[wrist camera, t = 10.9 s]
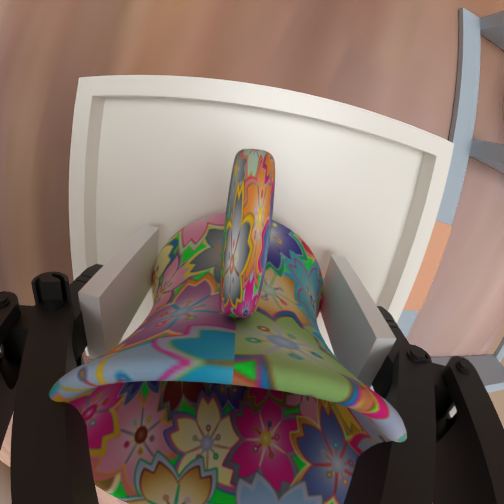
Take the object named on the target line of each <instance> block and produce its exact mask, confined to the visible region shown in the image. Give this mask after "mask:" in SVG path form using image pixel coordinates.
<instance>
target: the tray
mask: <svg viewBox="0 0 504 504" xmlns="http://www.w3.org/2000/svg"><path fill="white" fill-rule="evenodd" d="M453 148H454V143H452V142H450V141H448V140H445V139H443V138H441V137H438V136H436V135H434V134H431V133H429V132H426V131H424V130H422V129H419V128H416V127H414V126H411V125H409V124H406V123H403V122H401V121H398V120H395V119H392V118H389V117H386V116H383V115H380V114H377V113H374V112H371V111H368V110H365V109H362V108H358V107H355V106H351V105H348V104H344V103H341V102H337V101H333V100H329V99H326V98H322V97H317V96H313V95H309V94H304V93H300V92H295V91H290V90H285V89H280V88H275V87H269V86H263V85H257V84H251V83H244V82H237V81H229V80H220V79H210V78H199V77H186V76H166V75H111V76H92V77H79V82H78V88H77V95H76V101H75V109H74V117H73V126H72V136H71V149H70V167H69V227H70V246H71V259H72V269H73V279H74V281H75V279H76V278H77V277H78V276H80V274H81V273H82V272H83V271H84V270H85V269H86V268H88V267H90V266H93V265H95V264H100V265H104V264H105V263H106V262H107V261H108V260H109V259H110V258H111V257H112V256H113V255H114V254H115V253H116V252H117V251H118V250H119V249H120V248H121V247H122V246H123V245H125V244H126V243H127V242H128V241H129V240H130V239H131V238H132V237H133V236H134V235H135V234H136V233H137V232H138V231H139V230H140V229H141V228H142V227H143V226H144V225H146V226H153V227H159V239H158V255H159V253H160V252H161V250H162V248H163V247H164V245H165V244H166V243H167V242H168V241H169V239H170V238H171V237H172V236H173V235H175V234H176V233H177V232H178V231H179V230H181V229H182V228H183V227H185V226H187V225H188V224H190V223H192V222H194V221H196V220H198V219H201V218H204V217H207V216H211V215H215V214H220V213H226V208H227V200H228V193H229V186H230V180H231V174H232V168H233V163H234V159H235V156H236V154H237V153H238V151H240V150H242V149H259V150H263V151H267V152H269V153H270V154H271V155H272V156H273V158H274V161H275V191H274V204H273V215H272V220H274V221H276V222H278V223H280V224H282V225H284V226H285V227H287V228H289V229H290V230H292V231H293V232H294V233H295V234H297V235H298V236H299V237H300V238H301V239H302V240H303V241H304V242H305V243H306V244H307V246H308V247H309V248H310V250H311V251H312V253H313V254H314V256H315V258H316V260H317V262H318V264H319V267H320V270H321V274H322V278H323V281H324V278H325V274H326V271H327V267H328V264H329V260H330V257H331V255H336V256H342V257H345V258H346V259H347V261H348V262H349V264H350V265H351V267H352V268H353V270H354V271H355V273H356V274H357V276H358V277H359V279H360V280H361V282H362V284H363V285H364V287H365V288H366V290H367V291H368V293H369V295H370V296H371V298H372V299H373V301H374V303H375V304H376V306H382V307H383V308H384V309H386V310H387V311H388V312H389V313H390V314H391V315H392V317H393V319H394V320H395V322H396V323H397V322H398V320H399V318H400V315H401V313H402V311H403V308H404V306H405V304H406V301H407V299H408V297H409V294H410V292H411V289H412V287H413V284H414V282H415V279H416V277H417V274H418V271H419V269H420V266H421V263H422V260H423V258H424V255H425V252H426V249H427V246H428V243H429V240H430V237H431V234H432V231H433V228H434V224H435V221H436V218H437V214H438V211H439V207H440V204H441V200H442V196H443V192H444V188H445V184H446V180H447V176H448V172H449V167H450V163H451V158H452V153H453ZM152 307H153V299H152V292H151V288H150V290H149V292H148V293H147V295H146V297H145V298H144V300H143V302H142V304H141V305H140V307H139V309H138V310H137V312H136V314H135V316H134V317H133V319H132V321H131V323H130V324H129V326H128V328H127V330H126V332H125V333H124V335H123V337H122V339H121V341H120V343H121V342H123V341H124V340H125V339H126V338H128V337H129V336H130V335H131V334H132V333H133V332H134V331H135V330H136V329H137V328H138V327H139V326H140V325H141V324H142V323H143V321H144V320H145V319H146V317H147V316H148V314H149V313H150V311H151V309H152ZM317 324H318V328H319V331H320V333H321V335H322V337H323V339H324V341H325V343H326V344H327V346H328V348H329V349H330V350H331V352H332V353H333V355H334V352H333V349H332V346H331V343H330V340H329V337H328V333H327V330H326V327H325V324H324V321H323V318H322V315H321V312H320V313H319V315H318V318H317ZM120 343H119V344H120ZM119 344H118V345H119ZM85 352H86V355H87V356H89V353H88V349H87V347H86V348H85ZM334 356H335V355H334Z"/></svg>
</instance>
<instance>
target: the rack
mask: <svg viewBox="0 0 504 504" xmlns="http://www.w3.org/2000/svg"><path fill="white" fill-rule="evenodd" d="M480 34H481V35H482V36H484V37H485V38H487V39H488V40H490V41H491V42H492V43H494V44H495V45H496V46H498V47H499V48H500V49H502V50H503V51H504V11H501V12H498V13H495V14H492V15H488V16H485V17H482V18H478V17H477V16H475V15H474V14H472V13H471V12H469V11H468V10H466V9H465V8H463V7H462V8H460V9H459V52H458V70H457V82H456V92H455V100H454V108H453V115H452V122H451V128H450V134H449V140H448V141H450V142H452V143H454V148H453V153H452V158H451V163H450V167H449V172H448V176H447V180H446V184H445V188H444V192H443V196H442V200H441V204H440V207H439V211H438V214H437V218H436V221H435V224H434V228H433V231H432V234H431V237H430V240H429V243H428V246H427V249H426V252H425V255H424V258H423V260H422V263H421V266H420V269H419V271H418V274H417V277H416V279H415V282H414V284H413V287H412V289H411V292H410V294H409V297H408V299H407V301H406V304H405V306H404V308H403V311H402V313H401V315H400V318H399V320H398V322H397V325H398V326H399V327H398V328H400V330H401V331H402V333H403V334H404V336H405V338H406V337H407V335H408V333H409V331H410V329H411V327H412V325H413V323H414V321H415V319H416V317H417V314H418V312H419V311H420V310H421V308H422V306H423V303H424V301H425V299H426V296H427V294H428V292H429V289H430V287H431V284H432V282H433V279H434V277H435V274H436V272H437V269H438V267H439V264H440V261H441V258H442V256H443V253H444V250H445V247H446V244H447V241H448V238H449V235H450V232H451V229H452V222H453V219H454V216H455V212H456V209H457V205H458V202H459V198H460V194H461V190H462V186H463V182H464V178H465V173H466V169H467V164H468V159H469V156H470V157H472V158H474V159H476V160H478V161H480V162H482V163H484V164H486V165H488V166H490V167H492V168H494V169H495V170H497V171H499V172H501V173H503V174H504V145H502V144H497V143H491V142H485V141H479V140H472V137H473V131H474V125H475V117H476V109H477V100H478V89H479V75H480ZM459 357H463V358H465V359H467V360H469V362H471V363H472V364H473V366H474V367H475V368H476V370H477V372H478V374H479V376H480V378H481V380H482V382H483V384H484V386H485V388H486V390H487V392H488V393H490V392H494V391H498V390H503V389H504V367H503V366H502V364H501V363H500V362H501V360H502V359H503V357H504V338H503V339H502V341H501V343H500V345H499V346H498V348H497V350H496V351H495V353H494V354H492V355H477V356H459ZM450 358H451V357H431V360H432V363H436V364H440V365H444V366H446V364H447V363H448V361H449V359H450ZM370 389H371V390H373V391H374V389H373V386H371V387H370ZM374 392H375V391H374Z"/></svg>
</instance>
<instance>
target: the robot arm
mask: <svg viewBox="0 0 504 504" xmlns="http://www.w3.org/2000/svg"><path fill="white" fill-rule="evenodd" d="M158 239H159V227H153V226H146V225H144V226H143V227H142V228H141V229H140V230H139V231H138V232H137V233H136V234H135V235H134V236H133V237H132V238H131V239H130V240H129V241H128V242H127V243H126V244H125V245H123V246H122V247H121V248H120V249H119V250H118V251H117V252H116V253H115V254H114V255H113V256H112V257H111V258H110V259H109V260H108V261H107V262H106V263H105V264H104V265H100V264H95V265H93V266H90V267H88V268H86V269H85V270H84V271H83V272H82V273H81V274H80V276H78V277H77V278H76V279H75V281H73V282H72V283H71V284H70V285H69V280H68V277H67V276H66V275H65V274H63V273H60V272H46V273H43V274H40V275H38V276H36V277H35V278H34V279H33V280H32V282H31V283H32V289H33V294H34V299H35V303H36V305H35V306H23V305H19V302H18V298H17V296H16V295H15V294H14V293H12V292H5V291H3V292H0V349H1V353H0V450H1V446H2V443H3V440H4V437H5V434H6V431H7V428H8V425H9V422H10V420H11V417H12V414H13V411H14V414H13V424H12V438H11V496H12V504H99V503H98V498H97V493H96V488H95V483H94V478H93V472H92V465H91V459H90V451H89V443H88V434H87V425H86V423H85V421H84V419H83V417H82V415H81V414H80V412H79V411H78V410H77V409H76V408H75V407H74V406H73V405H71V404H69V403H66V402H56V401H54V400H52V399H51V398H50V396H49V392H50V390H51V388H52V387H53V385H54V384H55V383H56V382H57V381H58V380H59V379H60V378H61V377H62V376H64V375H65V374H67V373H68V372H70V371H71V370H73V369H74V368H76V367H79V366H81V365H83V364H84V362H83V357H82V353H83V352H84V350H85V348H86V347H87V349H88V353H89V358H91V359H95V358H97V357H99V356H101V355H103V354H104V353H106V352H108V351H110V350H111V349H113V348H114V347H116V346H117V345H118V344H119V343H120V341H121V339H122V337H123V335H124V333H125V332H126V330H127V328H128V326H129V324H130V323H131V321H132V319H133V317H134V316H135V314H136V312H137V310H138V309H139V307H140V305H141V304H142V302H143V300H144V298H145V297H146V295H147V293H148V292H149V290H150V288H151V287H152V274H153V269H154V265H155V262H156V260H157V257H158ZM320 312H321V315H322V318H323V321H324V324H325V327H326V330H327V333H328V337H329V340H330V343H331V346H332V349H333V352H334V355H335V357H336V358H337V359H338V360H339V361H340V363H341V364H342V365H343V366H344V367H345V368H346V369H347V370H348V371H349V372H350V373H351V374H353V375H354V376H355V377H356V378H357V379H358V380H360V381H361V382H362V383H363V384H365V385H366V386H367V387H369V388H370V387H371V386H373V389H374V391H375V392H376V393H377V394H378V395H380V396H381V397H383V398H384V399H385V400H386V401H387V402H388V403H389V404H390V405H391V406H392V407H393V408H394V409H395V410H396V411H397V412H398V414H399V415H400V417H401V418H402V420H403V423H404V426H405V429H406V432H407V439H406V440H405V441H403V442H395V441H389V442H381V443H378V444H375V445H373V446H371V447H370V448H368V449H367V450H366V451H364V452H363V453H362V454H361V455H360V456H359V457H358V458H357V460H356V464H355V468H354V471H353V475H352V478H351V481H350V485H349V488H348V491H347V494H346V497H345V500H344V503H343V504H432V502H433V504H504V429H503V426H502V424H501V421H500V419H499V417H498V414H497V412H496V410H495V408H494V406H493V403H492V401H491V399H490V397H489V395H488V392H487V390H486V388H485V386H484V384H483V382H482V380H481V378H480V376H479V374H478V372H477V370H476V368H475V367H474V366H473V364H472V363H471V362H469V360H467V359H465V358H463V357H459V356H453V357H451V358H450V359H449V361H448V363H447V364H446V366H444V365H440V364H436V363H432V360H431V357H430V356H429V354H428V353H427V352H426V351H424V350H423V349H422V348H420V347H417V346H415V345H410V344H409V342H408V341H407V339H406V338H405V336H404V334H403V333H402V331H401V330H400V328H398V327H399V326H398V325H397V323H396V322H395V320H394V319H393V317H392V315H391V314H390V313H389V312H388V311H387V310H386V309H384V308H383V307H382V306H376V304H375V303H374V301H373V299H372V298H371V296H370V295H369V293H368V291H367V290H366V288H365V287H364V285H363V284H362V282H361V280H360V279H359V277H358V276H357V274H356V273H355V271H354V270H353V268H352V267H351V265H350V264H349V262H348V261H347V259H346V258H345V257H342V256H336V255H331V257H330V260H329V264H328V267H327V271H326V274H325V278H324V281H323V301H322V306H321V309H320ZM454 406H455V408H456V410H457V412H456V413H455V415H454V416H453V417H452V418H451V416H450V414H449V412H450V411H451V410H452V408H453V407H454Z"/></svg>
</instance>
